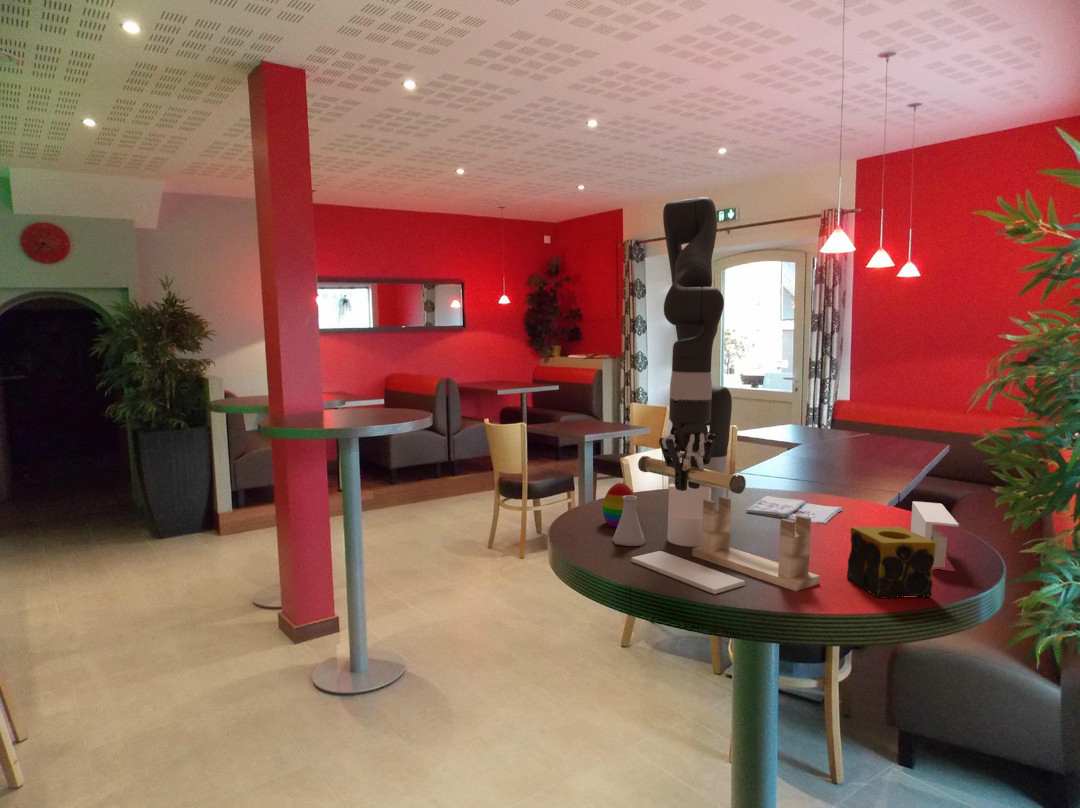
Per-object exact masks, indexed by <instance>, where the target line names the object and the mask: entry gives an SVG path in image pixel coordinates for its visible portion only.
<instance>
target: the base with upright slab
mask: <svg viewBox="0 0 1080 808" xmlns="http://www.w3.org/2000/svg"><path fill="white" fill-rule="evenodd" d="M705 499H707V500H711V487H706V486H700V487H699V488H698V489H694V488H690V487H689V486H688V485H687V490H686V491H681V490H677V489H676V487H675V483H670V484H669V485H668V511H667V515H668V517H667V541H668V542H669V543H671V544H672V545H673V544H674V545H677V546H682V547H683V546H684V547H692V548H696V547H700V546H702V522H703V500H705Z"/></svg>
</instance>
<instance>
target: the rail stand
mask: <svg viewBox="0 0 1080 808" xmlns="http://www.w3.org/2000/svg"><path fill="white" fill-rule="evenodd" d="M731 507H732V499H731V498H730V497H728V498H726V497H719V504H718V511H716V502H715V501H711V500H707V499H705V500H703V522H702V546H697V547H692V550H691V551H692V553H691V556H692V557H695V558H699V559H701V560H703V561H707V562H709V563H712V564H715V565H718V566H721V567H724V568H726V569H730V570H733V571H736V572H740V573H741V574H744V575H747V576H750V577H752V578H756V579H758V580H761V581H764V582H768V583H770V584H774V585H776V586H779V587H781V588H785V589H787V590H791V591H793V592H799V591H801V590H804V589H807V588H811V587H813V586H817V585H820V577H821V576H820V575H819V574H815V573H812V572H809V570H810V550H811V549H810V548H811V547H810V546H811V527H812V526H811V523H812V522H811V518H808V517H804V516H800V515H799V516H796V520H792V519H790V520H789V519H786V518H781V519H780V526H779V527H780V529H779V544H778V545H779V549H778V551H779V552H778V561H774V560H771V559H767V558H765V557H762V556H759V555H755V554H752V553H748V552H745V551H742V550H739V549H736V548H733V547H731V546H730V543H731V542H730V541H731V539H730V537H731V514H732V510H731V509H732V508H731Z"/></svg>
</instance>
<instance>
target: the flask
mask: <svg viewBox="0 0 1080 808" xmlns="http://www.w3.org/2000/svg"><path fill="white" fill-rule="evenodd" d="M622 498H623V500H624V507H623V512H622V516H621V518H620V521H619V524H618V527H616V530H615V533H614V535H613V537H612V540H611V541H613V543H614V544H615V545H617V546H618V545H619V546H625V547H639V546H640V547H642V546H643V545H644V544H646V542H647V541H646V538H645V536H644V532H643V530H642V526H641V524H640V520H639V517H638V509H637V510H636V501H637V500H638V497H637V496H636V495H635V496H623V497H622Z"/></svg>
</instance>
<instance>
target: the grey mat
mask: <svg viewBox="0 0 1080 808" xmlns="http://www.w3.org/2000/svg"><path fill="white" fill-rule="evenodd" d="M630 561H631V563H635V564H636V565H640V566H642V567H644V568H646V569H648V570H649V569H650V570H653V571H655V572H657V573H660V574H661V575H664V576H665V575H666V576H667V577H670V578H672V579H674V580H677V581H680V582H683V583H685V584H687V585H691V586H693V587H695V588H697V589H700V590H704V591H706V592H708V593H711V594H713V595H716V594H719V593H723V592H726V591H727V592H728V591H729V590H730V591H731V590H734V589H737V588H739V587H743V586H745V585H746V581H745V580H743V579H740V578H738V577H735V576H732V575H729V574H727V573H724V572H721V571H718V570H717V569H713V568H710V567H708V566H704V565H702V564H700V563H696V562H694V561H690V560H688V559H684V558H683V557H679V556H677V555H674V554H670V553H668V552H665V551H662V550H658V551H654V552H649V553H644V554H641V555H637V556H632V557H631V560H630Z"/></svg>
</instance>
